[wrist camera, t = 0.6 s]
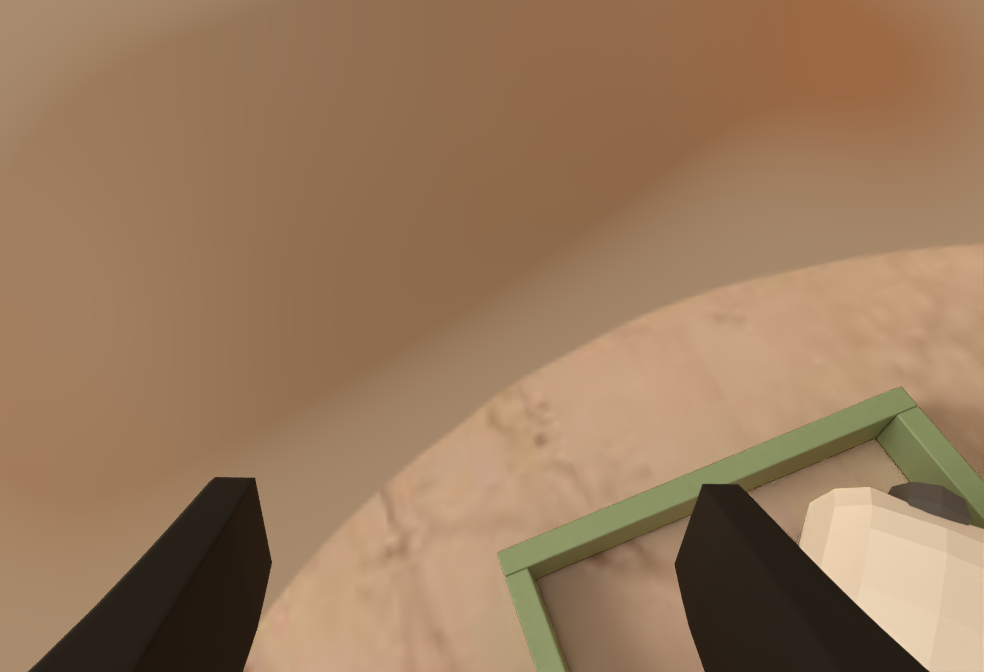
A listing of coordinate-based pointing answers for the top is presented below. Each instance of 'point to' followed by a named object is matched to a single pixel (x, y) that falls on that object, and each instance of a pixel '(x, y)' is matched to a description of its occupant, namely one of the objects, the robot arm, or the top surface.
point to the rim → (881, 416)
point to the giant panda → (907, 567)
